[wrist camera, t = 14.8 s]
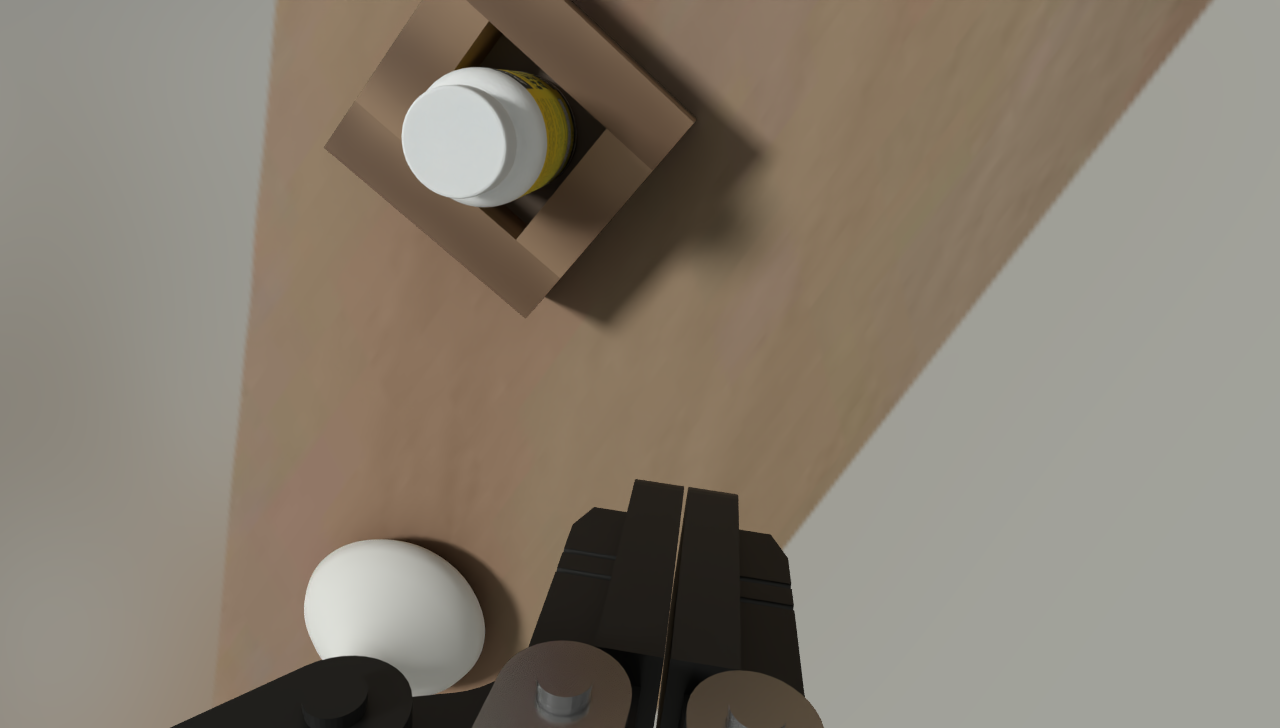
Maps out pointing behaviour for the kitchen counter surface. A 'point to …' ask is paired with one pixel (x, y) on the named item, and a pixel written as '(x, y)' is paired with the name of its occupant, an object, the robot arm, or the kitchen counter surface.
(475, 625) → the flower in vase
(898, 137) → the kitchen counter surface
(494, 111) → the supplement bottle
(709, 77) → the kitchen counter surface
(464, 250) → the socket block
